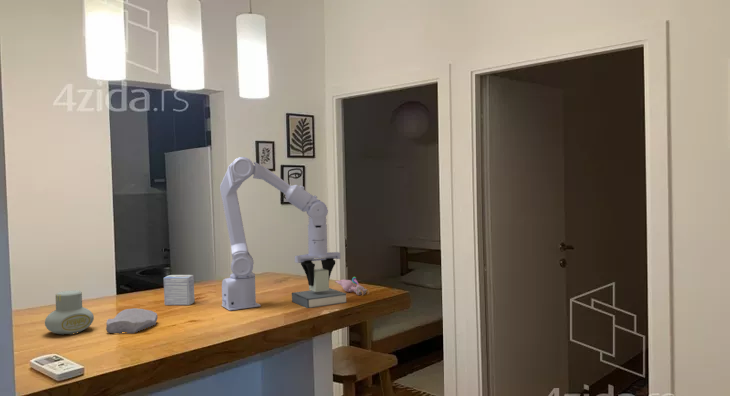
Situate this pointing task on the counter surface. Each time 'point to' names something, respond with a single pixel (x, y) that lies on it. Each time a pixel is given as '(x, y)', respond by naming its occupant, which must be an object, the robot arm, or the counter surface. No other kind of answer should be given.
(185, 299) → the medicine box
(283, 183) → the robot arm
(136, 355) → the counter surface
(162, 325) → the counter surface
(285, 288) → the counter surface
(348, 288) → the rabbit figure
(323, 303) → the book
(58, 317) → the air freshener
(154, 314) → the stone block
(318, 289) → the sage block
